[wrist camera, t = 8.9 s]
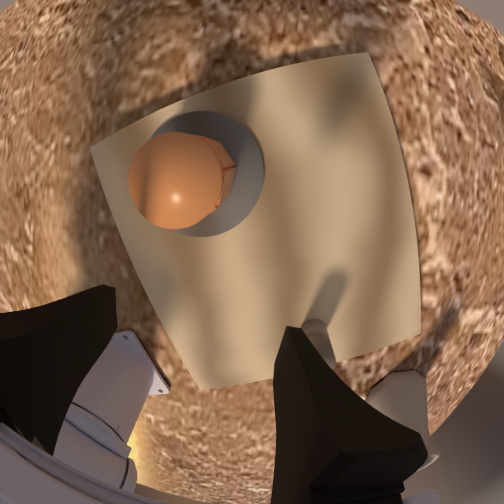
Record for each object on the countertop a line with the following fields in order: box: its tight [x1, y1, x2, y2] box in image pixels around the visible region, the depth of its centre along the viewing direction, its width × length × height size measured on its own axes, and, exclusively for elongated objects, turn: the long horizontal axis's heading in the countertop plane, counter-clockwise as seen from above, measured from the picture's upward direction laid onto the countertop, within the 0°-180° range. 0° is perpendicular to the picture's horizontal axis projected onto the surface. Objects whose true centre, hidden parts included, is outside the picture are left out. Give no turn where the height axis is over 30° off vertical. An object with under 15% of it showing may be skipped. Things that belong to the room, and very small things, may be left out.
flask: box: [366, 370, 440, 471], centre depth 20 cm, size 7×7×10 cm
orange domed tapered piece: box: [128, 131, 236, 229], centre depth 14 cm, size 4×4×5 cm
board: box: [90, 52, 421, 390], centre depth 17 cm, size 20×22×6 cm
